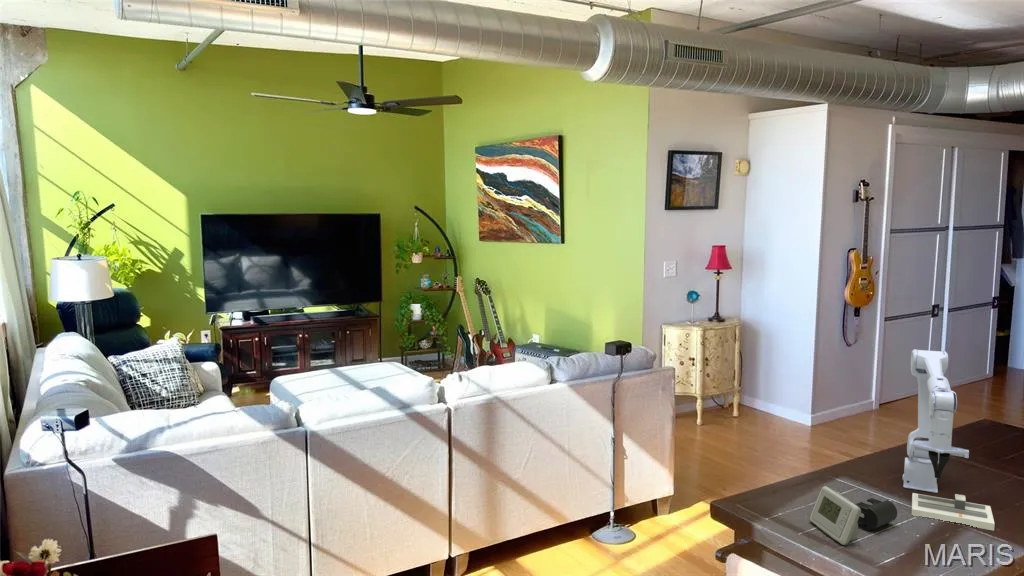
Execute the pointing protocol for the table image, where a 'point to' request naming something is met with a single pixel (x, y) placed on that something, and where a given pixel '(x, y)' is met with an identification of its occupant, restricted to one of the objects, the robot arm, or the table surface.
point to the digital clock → (836, 516)
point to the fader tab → (959, 502)
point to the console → (952, 511)
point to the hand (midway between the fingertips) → (937, 477)
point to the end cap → (876, 514)
